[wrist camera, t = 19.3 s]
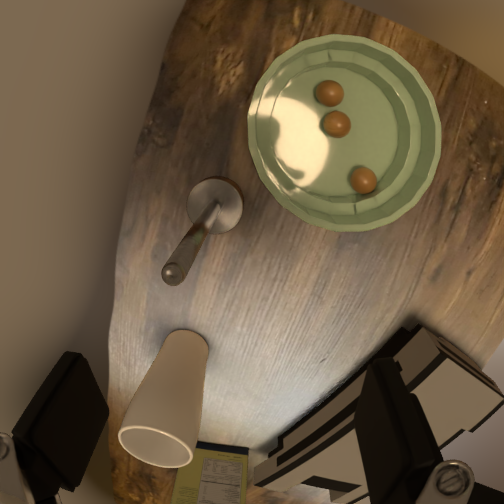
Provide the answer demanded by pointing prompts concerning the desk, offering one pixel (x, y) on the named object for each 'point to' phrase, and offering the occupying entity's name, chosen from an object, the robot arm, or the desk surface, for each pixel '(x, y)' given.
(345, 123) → the bead
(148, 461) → the drinking glass
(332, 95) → the bead
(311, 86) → the bowl
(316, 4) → the desk surface
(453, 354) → the game console
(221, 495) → the protein box
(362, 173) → the bead
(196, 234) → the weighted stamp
